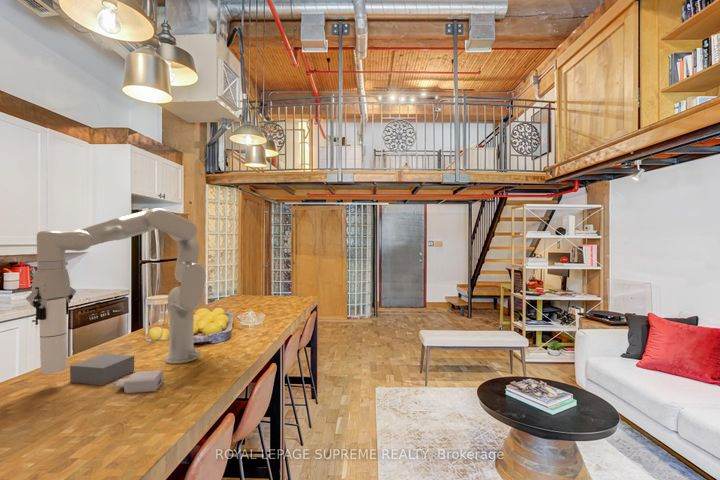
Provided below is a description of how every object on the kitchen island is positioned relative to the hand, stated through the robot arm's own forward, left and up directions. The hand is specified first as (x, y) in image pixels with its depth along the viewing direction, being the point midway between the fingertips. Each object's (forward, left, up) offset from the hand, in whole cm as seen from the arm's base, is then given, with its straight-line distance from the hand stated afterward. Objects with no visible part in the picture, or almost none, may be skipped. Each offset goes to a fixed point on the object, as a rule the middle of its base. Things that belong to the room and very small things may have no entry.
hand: (53, 316), depth 126 cm
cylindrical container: (0, 0, -19) cm, 19 cm away
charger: (-28, -5, -25) cm, 39 cm away
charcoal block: (-8, -13, -25) cm, 29 cm away
